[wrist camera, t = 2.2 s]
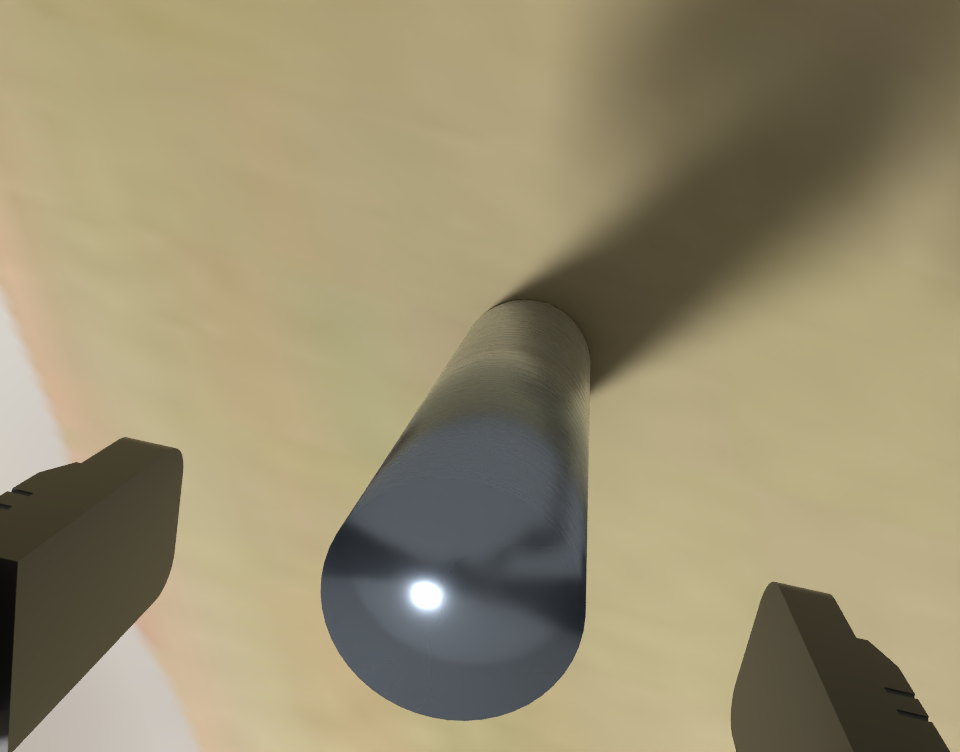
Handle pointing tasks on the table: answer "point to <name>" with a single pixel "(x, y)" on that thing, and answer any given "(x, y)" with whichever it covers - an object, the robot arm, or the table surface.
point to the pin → (474, 529)
